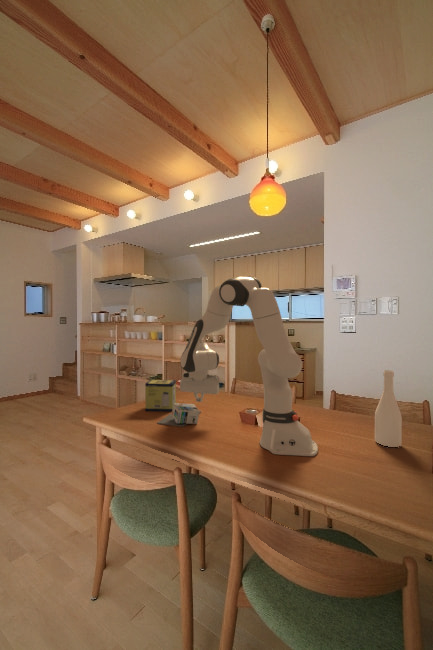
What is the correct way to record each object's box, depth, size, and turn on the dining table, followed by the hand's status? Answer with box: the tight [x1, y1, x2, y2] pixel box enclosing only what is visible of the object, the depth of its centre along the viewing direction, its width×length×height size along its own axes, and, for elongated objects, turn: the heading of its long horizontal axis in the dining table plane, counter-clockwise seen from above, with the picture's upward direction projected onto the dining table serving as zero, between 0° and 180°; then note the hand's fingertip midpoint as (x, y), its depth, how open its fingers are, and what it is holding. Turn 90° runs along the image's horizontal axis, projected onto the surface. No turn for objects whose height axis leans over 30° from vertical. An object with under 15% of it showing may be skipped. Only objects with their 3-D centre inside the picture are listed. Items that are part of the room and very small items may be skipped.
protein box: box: [144, 379, 177, 413], centre depth 168 cm, size 10×16×16 cm
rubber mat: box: [156, 410, 202, 428], centre depth 152 cm, size 14×24×1 cm, turn 163°
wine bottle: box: [374, 369, 403, 448], centre depth 121 cm, size 10×10×30 cm
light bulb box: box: [171, 402, 201, 425], centre depth 146 cm, size 11×7×11 cm
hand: (199, 401), depth 149 cm, fingers closed
